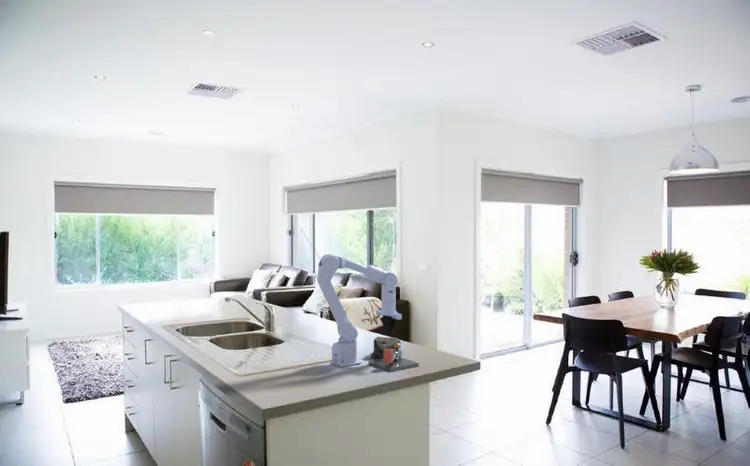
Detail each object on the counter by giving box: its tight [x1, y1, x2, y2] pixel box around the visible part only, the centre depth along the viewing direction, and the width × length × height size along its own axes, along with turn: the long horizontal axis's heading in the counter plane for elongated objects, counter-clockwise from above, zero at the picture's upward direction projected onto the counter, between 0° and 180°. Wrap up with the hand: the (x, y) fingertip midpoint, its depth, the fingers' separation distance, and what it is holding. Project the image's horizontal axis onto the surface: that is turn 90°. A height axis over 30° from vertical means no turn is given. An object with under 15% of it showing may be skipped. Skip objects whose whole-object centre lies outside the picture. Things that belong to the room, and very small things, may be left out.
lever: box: [383, 349, 398, 363], centre depth 204 cm, size 12×3×5 cm, turn 162°
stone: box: [370, 336, 402, 360], centre depth 222 cm, size 18×9×10 cm
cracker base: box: [368, 343, 420, 373], centre depth 204 cm, size 14×14×7 cm
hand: (388, 334), depth 212 cm, fingers closed
